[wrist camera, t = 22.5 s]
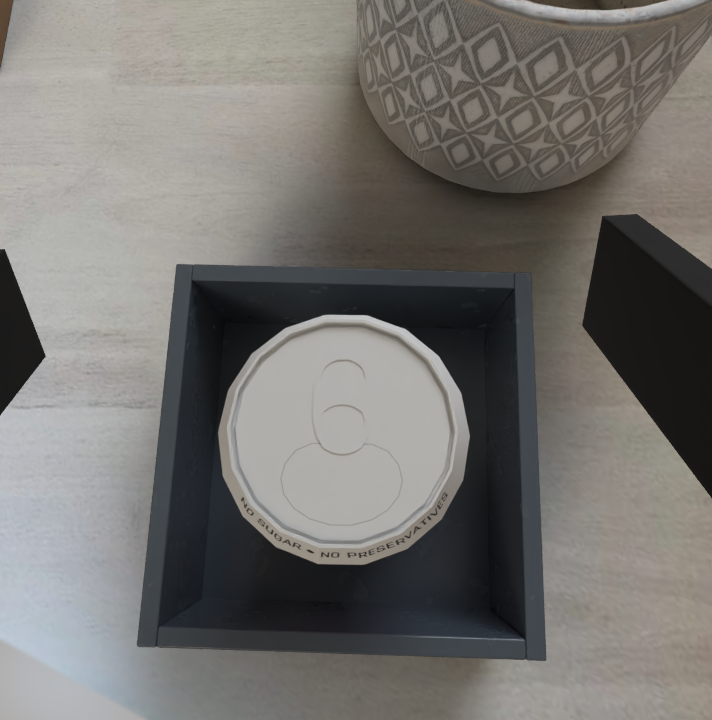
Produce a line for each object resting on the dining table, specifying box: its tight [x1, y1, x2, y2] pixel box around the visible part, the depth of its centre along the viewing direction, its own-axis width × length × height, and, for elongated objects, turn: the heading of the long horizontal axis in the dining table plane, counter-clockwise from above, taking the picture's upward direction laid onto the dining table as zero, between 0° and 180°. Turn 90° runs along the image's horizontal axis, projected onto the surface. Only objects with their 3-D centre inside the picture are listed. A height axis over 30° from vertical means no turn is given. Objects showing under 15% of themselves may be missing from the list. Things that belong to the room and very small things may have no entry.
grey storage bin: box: [137, 264, 546, 661], centre depth 29 cm, size 17×17×8 cm
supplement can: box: [218, 315, 470, 565], centre depth 25 cm, size 8×8×15 cm
